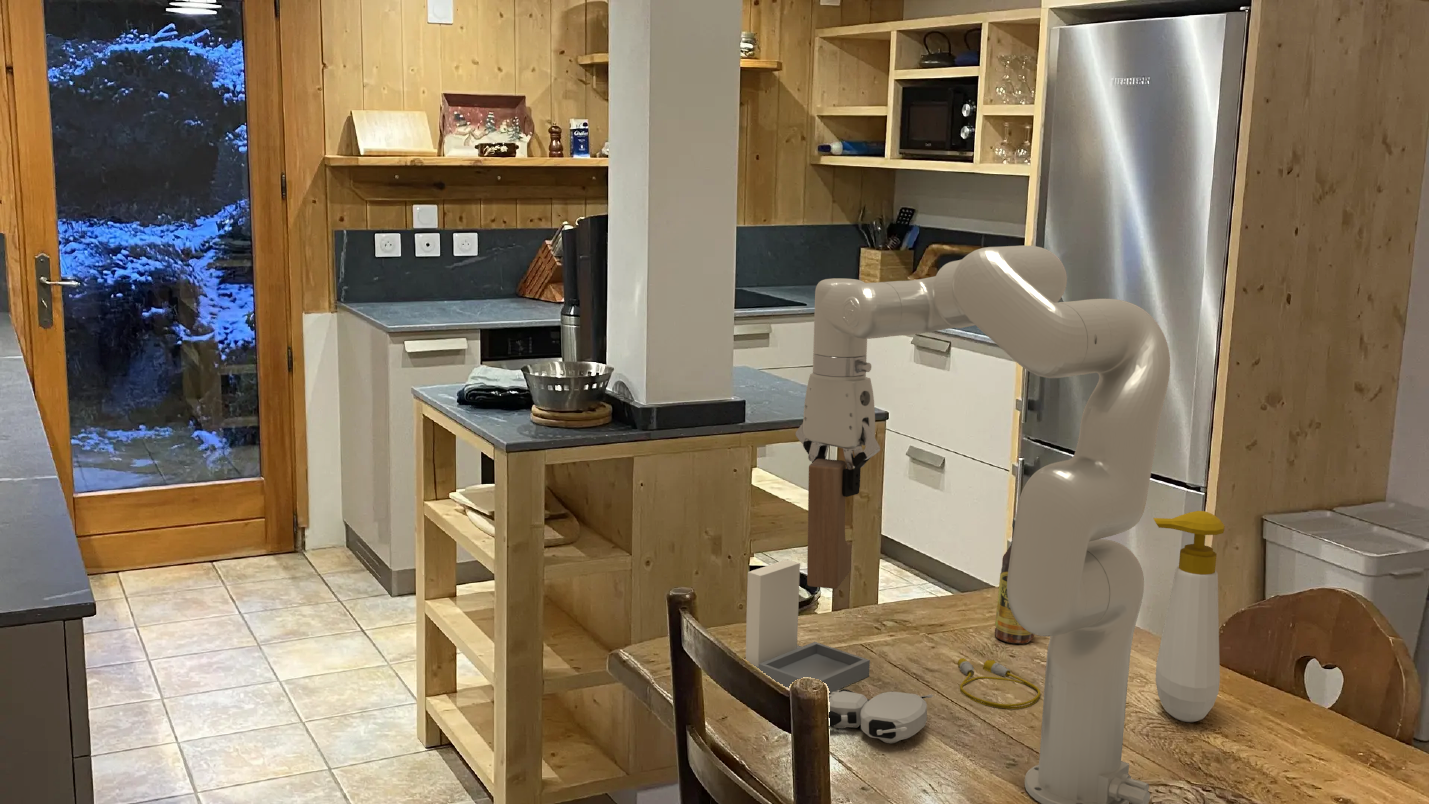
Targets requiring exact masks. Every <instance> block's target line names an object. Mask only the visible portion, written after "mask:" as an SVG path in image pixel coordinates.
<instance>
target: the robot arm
mask: <svg viewBox="0 0 1429 804" xmlns="http://www.w3.org/2000/svg"><path fill="white" fill-rule="evenodd" d="M1067 283H1068V275H1067V271H1066V268H1065V266H1064V264H1063V262H1062V261H1061V259H1060V258H1059V257H1058V256H1057V255H1056V254H1055V253H1054V252H1052V251H1050V250H1049V249H1046V248H1044V247H1041V246H1036V245H1008V246H1007V245H1006V246H988V247H982V248H978V249H975V250H973V251H972V252H969V253H968V254H967V255H965V256H964V257H963V258H962V259H959V260H952V261H949V262H947V263H945V264H944V265H942V267H940V268H939V270H938V271H937V273H936V275H935V276H931V277H926V278H919V279H913V280H911V279H910V280H895V281H893V280H892V281H879V282H865V281H863V280H860V279H854V278H834V277H833V278H825V279H822V280H820V281H818V283H817V284H816V286H815V291H814V295H815V296H814V321H813V349H812V350H813V355H812V357H813V358H812V372H811V373H809V374H810V375H809V377H808V381H807V387H806V390H805V391H806V392H805V397H804V407H803V419H802V421H803V422H802V424H800V426H799V427H798V429H797V430H796V431H795V437H796V438H797V439H798V441H799V442H800V443H801V444H802V446H803V449H804V451H805V452H806V453H807V459H808V461H809V462H811V463H813V462H814V461H815V460H816V459H827V455H828V453H829V452H828V451H829V448H830V446H831V447H836V448H840V449H843V456H844V461H845V462H846V469H843V482H842V495H843V496H845V498H848V497H851V496H856V495H858V494H860V489H861V488H860V487H861V473H862V472H861V468H863V467H865V465H866V463H867V462H868V461H869V460H871V458H872V457H874V456H875V455H876V454H877V453H879V452H880V451H881V446H880V444H879V443H878V441H877V439H876V412H875V408H876V407H875V396H874V391H873V386H872V385H873V384H872V380H871V378H870V377H867V373H870V372H871V370H872V364H871V363H870V362H867V356H868V355H867V353H868V352H867V350H868V339H871V340H872V339H881V338H889V337H899V336H900V337H901V336H911V335H920V334H925V333H931V332H932V333H933V332H937V331H938V332H939V331H943V330H950V329H956V328H957V329H962V328H968V327H973V326H976V327H977V328H978V329H979V330H980V331H981V332H982V333H983V334H985V335H986V336H987V338H989V339H990V340H991V341H992V342H994V343H995V344H996V345H997V346H998V347H999V348H1000V349H1001V350H1002V351H1004V353H1005V354H1007V355H1008V356H1009V357H1010V358H1011V359H1012V360H1014V362H1016V363H1017V364H1018V365H1019V366H1020V367H1021V368H1023V369H1025V370H1026V371H1027V372H1029V373H1031V374H1033V375H1035V376H1037V377H1041V378H1047V379H1061V378H1067V377H1075V376H1081V375H1082V376H1084V375H1089V374H1095V373H1096V374H1098V377H1099V378H1098V381H1097V384H1096V386H1095V388H1094V389H1093V390H1092V393H1091V394H1090V396H1089V398H1088V400H1087V402H1086V403H1085V406H1084V408H1083V412H1082V415H1081V420H1080V425H1079V435H1078V440H1077V444H1076V448H1075V451H1074V453H1073V454H1074V455H1073V456H1072V457H1071V458H1070V459H1066V460H1065V459H1064V460H1061V461H1056V462H1052V463H1049V464H1047V465H1045V466H1043V467H1041V468H1040V469H1038V470H1036V471H1035V472H1034V473H1033V474H1032V475H1031V477H1029V478H1028V480H1027V482H1026V483H1025V484H1024V487H1023V488H1022V490H1021V494H1020V495H1019V500H1018V503H1017V510H1016V515H1015V517H1016V521H1015V527H1014V534H1013V533H1012V536H1013V541H1012V540H1011V541H1012V548H1011V555H1010V562H1009V569H1008V578H1007V595H1008V601H1009V605H1010V609H1011V611H1012V613H1013V615H1014V617H1015V619H1016V620H1017V622H1018V623H1019V624H1020V625H1021V626H1022V627H1023V628H1024V629H1025V630H1027V631H1028V632H1030V633H1032V634H1033V635H1036V636H1040V637H1049V642H1048V646H1047V654H1046V663H1045V675H1044V676H1045V677H1044V689H1043V705H1042V718H1041V731H1040V734H1041V735H1040V745H1039V746H1040V747H1039V759H1038V760H1039V762H1038V764H1036V765H1034V766H1032V767H1031V768H1029V769H1028V771H1027V772H1026V773H1025V777H1024V788H1025V790H1026V792H1027V793H1028V795H1029V796H1030V797H1031V798H1033V799H1034V800H1035V801H1036V802H1039V803H1040V804H1129V802H1130V804H1149V803H1150V801H1151V792H1150V791H1149V789H1150V784H1149V783H1148V782H1144V781H1141V780H1139V779H1135V778H1132V776H1131V775H1129V772H1130V763H1128V762H1126V761H1123V760H1122V755H1123V744H1124V743H1123V742H1124V731H1125V721H1126V720H1125V719H1126V709H1127V708H1126V706H1127V695H1128V693H1127V692H1128V682H1129V672H1130V662H1131V653H1132V646H1133V639H1134V638H1133V637H1134V633H1135V629H1136V624H1137V621H1138V617H1139V613H1140V610H1141V606H1142V603H1143V597H1144V591H1145V590H1144V589H1145V580H1144V573H1143V569H1142V566H1141V564H1140V562H1139V560H1138V557H1136V555H1135V554H1134V552H1133V551H1131V550H1130V549H1129V548H1128V547H1127V546H1126V545H1124V544H1121V543H1120V542H1118V541H1114V540H1112V539H1106V538H1109V537H1112V536H1115V535H1116V536H1117V535H1119V534H1122V533H1125V532H1127V531H1129V530H1131V529H1132V528H1134V527H1136V525H1137V524H1139V522H1140V520H1141V519H1142V517H1143V515H1144V513H1145V512H1144V511H1145V510H1146V509H1145V508H1146V505H1147V498H1148V494H1149V488H1150V487H1149V486H1150V482H1151V476H1152V469H1153V463H1154V457H1155V452H1156V451H1155V450H1156V446H1157V445H1156V444H1157V439H1158V438H1157V437H1158V428H1159V423H1160V421H1161V420H1160V419H1161V416H1162V415H1161V414H1162V411H1163V407H1164V403H1165V399H1166V395H1167V390H1168V385H1169V381H1170V374H1171V373H1170V372H1171V357H1170V354H1171V353H1170V349H1169V345H1168V343H1167V341H1168V340H1167V339H1166V337H1165V334H1164V332H1163V331H1162V328H1161V327H1160V325H1159V324H1158V322H1157V321H1156V320H1155V318H1154V317H1153V316H1152V315H1151V314H1150V313H1148V311H1146V310H1145V309H1143V308H1142V307H1140V306H1138V305H1137V304H1134V303H1132V302H1129V301H1126V300H1122V299H1115V298H1090V299H1079V300H1073V301H1060V300H1061V298H1062V297H1063V296H1064V293H1065V291H1066V288H1067ZM1059 301H1060V302H1059ZM862 446H865V448H864V449H863V447H862ZM1104 538H1105V539H1104Z"/></svg>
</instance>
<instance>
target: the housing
mask: <svg viewBox="0 0 1429 804" xmlns="http://www.w3.org/2000/svg"><path fill="white" fill-rule="evenodd" d="M800 566H801V563H800V562H797V561H793V560H790V559H783V560H781V561H778V562H774V563H772V564H768V565H766V566H763V567H760V568H756V569H753V570H751V571H750V570H749V571H748V572H747V585H746V586H747V590H746V591H747V593H746V596H747V597H746V622H745V623H746V625H745V626H746V629H745V630H746V632H745V657H746V660H747V661H749V662H750V663H751V664H753V665H754V666H756V667H757V668H759V669H760V670H761V671H763V673H766V675H768V676H770V677H771V678H772V679H774V680H775V681H776V682H779V683H780V684H783V686H785V687H788V688H789V686H790V684H792V682H794V681H795V680H797V679H801V678H803V677H811V678H815V679H819V680H821V681H822V682H824V683H826V684H827V686H828V688H829V691H830V694H831V692H834V691H837V690H842V689H844V688H846V687H848V686H850V685H852V683H853V684H854V682H855V683H857V682H859V681H862V680H864V679H866V678H868V677H870V665H871V664H870V663H871V659H869V658H865V657H863V656H862V657H861V656H859V655H856V654H853V653H850V652H846V651H843V650H841V649H838V648H835V647H833V646H832V647H831V646H829V645H826V644H823V643H820V642H817V641H813V642H810V643H808V644H806V645H805V644H804V645H803V646H800V645H798V636H799V635H798V632H799V631H798V630H799V629H798V628H799V599H800V573H801V572H800V571H801V570H800V568H801V567H800ZM861 679H862V680H861ZM849 684H850V685H849ZM847 685H848V686H847ZM845 686H846V687H845ZM843 687H844V688H843Z"/></svg>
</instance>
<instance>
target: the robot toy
mask: <svg viewBox="0 0 1429 804" xmlns="http://www.w3.org/2000/svg"><path fill="white" fill-rule="evenodd" d="M828 695H829V702H830V712H829V718H830V726H829V727H834V728H837V729H838V728H839V729H846V728H858V727H859V726H860V730H861V731H862V732H863V733H864V734H865V735H867V736H868V737H870V738H873V739H879V740H880V741H882V742H884V743H886V744H895V743H898V742H900V741H901V740H903V741H904V740H907V739H909V738H911V737H913V736H915V735H916V734H917V733H918V732H919V731H921V730H922V729H923V728H925V726H926V724H927V721H928V704H927V701H925V699H931V698H934V696H935V695H933V694H927V695H922V696H921V695H918V694H915V693H908V692H901V691H891V690H890V691H887V692H882V693H879V694H877V695H875V696H874V697H872V698H871V699H870V698H867V697H866V696H865V695H864V694H861V693H857V692H855V691H852V690H849V689H846V688H841V689H839V690H837V691H834V692H831V693H830V694H828Z"/></svg>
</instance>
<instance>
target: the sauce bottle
mask: <svg viewBox="0 0 1429 804" xmlns="http://www.w3.org/2000/svg"><path fill="white" fill-rule="evenodd" d="M1015 521H1016V516H1015V517H1013V519H1012V523H1011V524H1012V525H1011V526H1012V537H1011V542H1010V543H1011V544H1010V546H1009V547H1008V548H1007V550H1006V551H1005V553H1004V554H1003V556H1002V564H1001V569H1000V573H999V583H998V592H997V602H996V612H995V621H994V626H995V629H994V636H995V637H996V638H997V639H998V640H1000V641H1002V642H1005V643H1009V644H1012V645H1013V644H1021V645H1022V644H1023V645H1025V644H1028V643H1029V642H1031V641H1032V640H1033V639H1034V634H1032V633H1030V632H1028V631H1027V630H1025V629H1024V628H1023V627H1022V626H1021V625H1020V624H1019V623H1018V622H1017V620H1016V619H1015V617H1014V615H1013V613H1012V611H1011V609H1010V605H1009V601H1008V595H1007V578H1008V569H1009V562H1010V555H1011V548H1012V541H1013V534H1014V527H1015Z"/></svg>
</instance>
